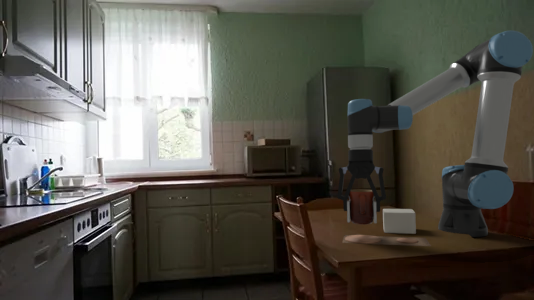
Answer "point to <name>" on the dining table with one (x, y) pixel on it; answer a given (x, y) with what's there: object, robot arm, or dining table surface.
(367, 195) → the mug
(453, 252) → the dining table surface
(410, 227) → the white rectangular block
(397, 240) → the board
